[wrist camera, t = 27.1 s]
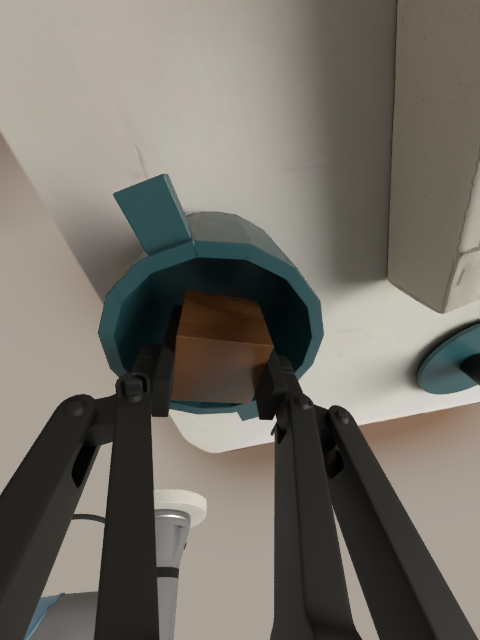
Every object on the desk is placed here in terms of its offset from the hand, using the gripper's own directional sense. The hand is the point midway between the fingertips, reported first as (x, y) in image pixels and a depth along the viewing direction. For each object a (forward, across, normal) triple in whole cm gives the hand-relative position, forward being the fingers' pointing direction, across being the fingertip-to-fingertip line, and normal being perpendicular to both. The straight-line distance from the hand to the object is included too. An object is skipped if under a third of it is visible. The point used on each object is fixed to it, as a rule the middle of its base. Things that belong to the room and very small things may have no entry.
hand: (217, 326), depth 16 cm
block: (0, 0, 0) cm, 0 cm away
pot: (+7, 0, 0) cm, 7 cm away
